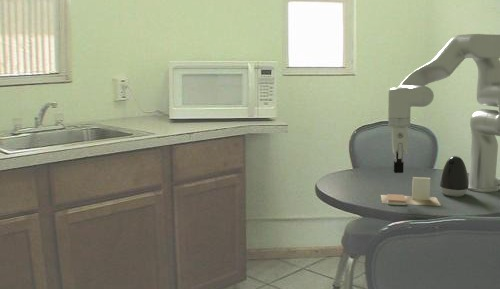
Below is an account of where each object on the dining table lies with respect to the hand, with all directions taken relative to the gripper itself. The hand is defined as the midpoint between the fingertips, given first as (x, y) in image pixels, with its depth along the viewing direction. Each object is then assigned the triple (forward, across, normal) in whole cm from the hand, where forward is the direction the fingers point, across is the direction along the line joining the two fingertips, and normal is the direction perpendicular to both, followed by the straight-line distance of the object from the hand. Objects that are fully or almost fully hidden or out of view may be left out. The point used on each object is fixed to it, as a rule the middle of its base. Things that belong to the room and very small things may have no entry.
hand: (398, 172), depth 182 cm
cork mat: (+11, 0, -4) cm, 12 cm away
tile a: (+10, +2, -8) cm, 13 cm away
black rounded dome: (+12, +11, -21) cm, 27 cm away
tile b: (+9, +1, +1) cm, 9 cm away
